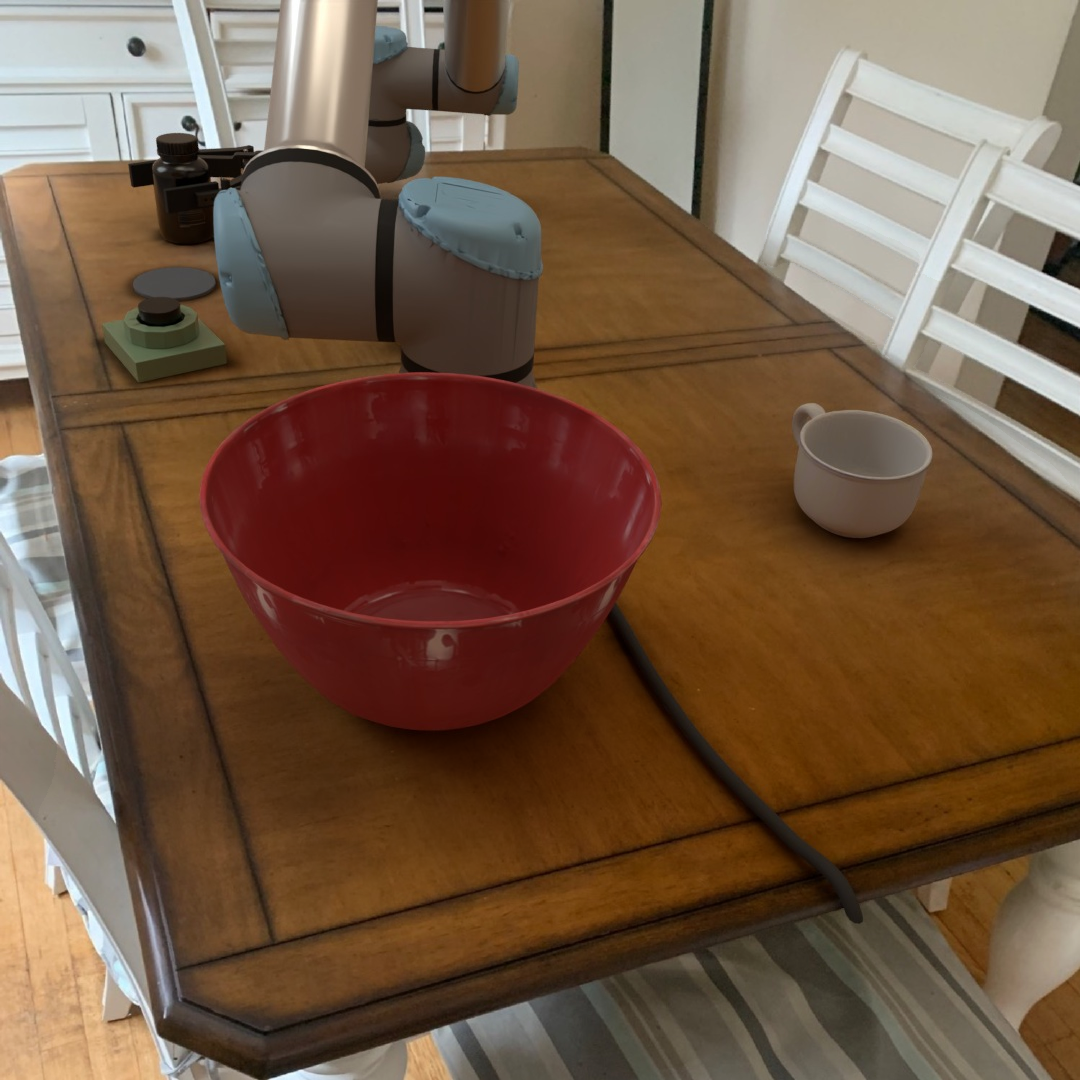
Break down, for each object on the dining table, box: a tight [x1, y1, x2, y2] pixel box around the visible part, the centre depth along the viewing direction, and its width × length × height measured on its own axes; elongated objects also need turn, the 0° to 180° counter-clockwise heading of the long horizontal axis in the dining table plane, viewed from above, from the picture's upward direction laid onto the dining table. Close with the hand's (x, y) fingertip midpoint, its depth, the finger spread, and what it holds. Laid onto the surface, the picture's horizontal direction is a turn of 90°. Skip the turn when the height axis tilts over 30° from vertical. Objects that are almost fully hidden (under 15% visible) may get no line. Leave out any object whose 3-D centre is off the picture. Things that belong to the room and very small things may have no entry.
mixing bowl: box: [198, 372, 663, 731], centre depth 75 cm, size 28×28×16 cm
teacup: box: [791, 402, 933, 539], centre depth 97 cm, size 14×11×8 cm
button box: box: [101, 304, 228, 384], centre depth 114 cm, size 10×9×4 cm
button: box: [137, 297, 182, 327], centre depth 112 cm, size 4×4×2 cm
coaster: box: [132, 266, 217, 302], centre depth 128 cm, size 9×9×1 cm
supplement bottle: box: [151, 132, 214, 245], centre depth 138 cm, size 7×7×12 cm
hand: (148, 188), depth 135 cm, fingers open, 10 cm apart
